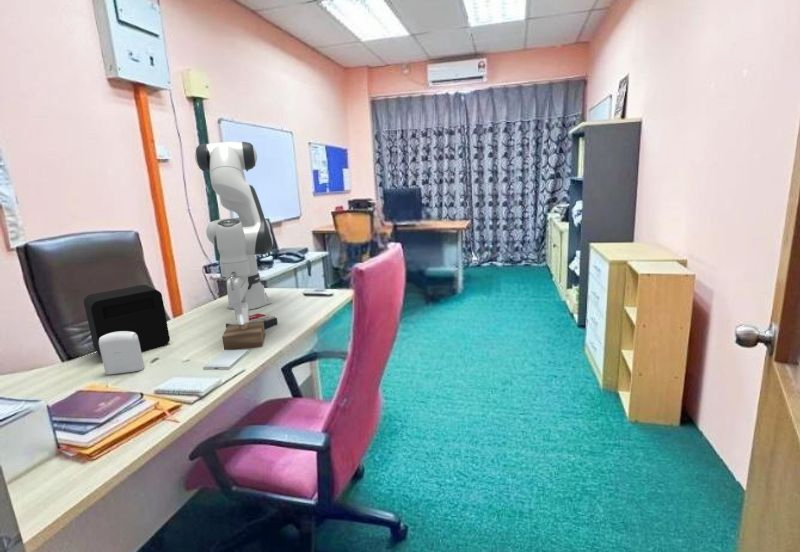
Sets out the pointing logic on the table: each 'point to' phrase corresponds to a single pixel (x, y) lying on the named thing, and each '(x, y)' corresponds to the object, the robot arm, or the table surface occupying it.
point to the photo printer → (121, 352)
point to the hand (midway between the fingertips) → (241, 309)
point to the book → (267, 319)
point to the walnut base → (244, 336)
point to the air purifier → (128, 315)
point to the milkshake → (243, 317)
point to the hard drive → (226, 360)
